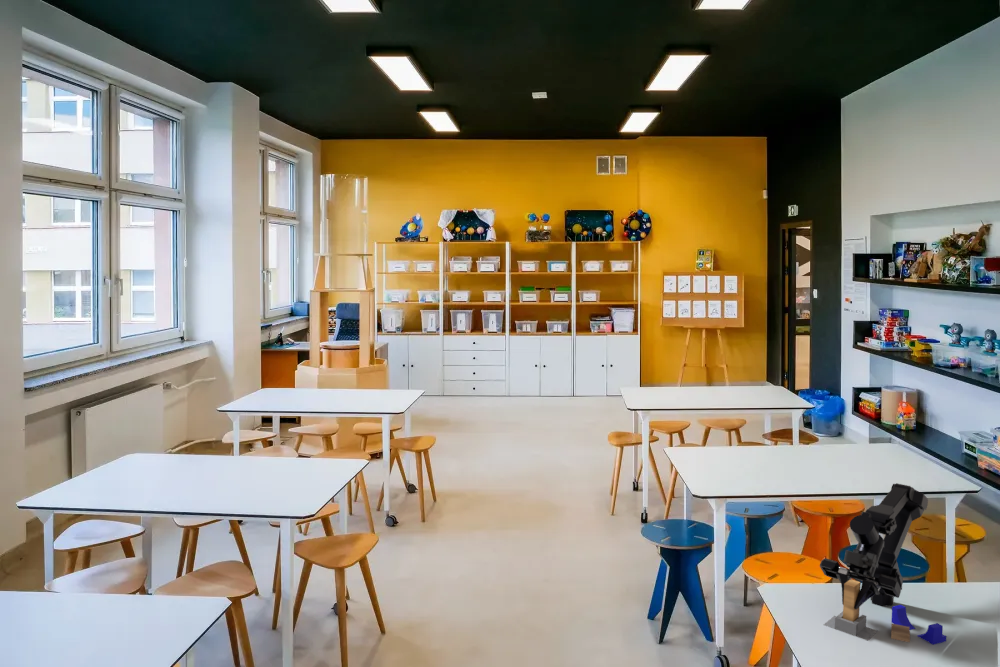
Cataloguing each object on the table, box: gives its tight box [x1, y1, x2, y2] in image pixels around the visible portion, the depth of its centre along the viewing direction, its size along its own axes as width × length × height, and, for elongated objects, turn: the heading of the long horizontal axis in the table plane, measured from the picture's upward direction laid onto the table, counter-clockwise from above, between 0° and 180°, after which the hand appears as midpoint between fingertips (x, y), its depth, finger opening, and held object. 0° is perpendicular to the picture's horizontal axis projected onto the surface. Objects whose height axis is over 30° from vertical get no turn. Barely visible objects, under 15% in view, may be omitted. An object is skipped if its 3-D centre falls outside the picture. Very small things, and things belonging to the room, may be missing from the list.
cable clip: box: [891, 604, 947, 646], centre depth 185 cm, size 12×4×6 cm, turn 21°
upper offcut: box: [890, 623, 911, 643], centre depth 183 cm, size 5×4×2 cm
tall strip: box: [842, 578, 862, 622], centre depth 187 cm, size 4×2×12 cm, turn 133°
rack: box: [823, 611, 879, 641], centre depth 187 cm, size 7×11×4 cm, turn 43°
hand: (849, 606), depth 186 cm, fingers closed on tall strip, 2 cm apart
